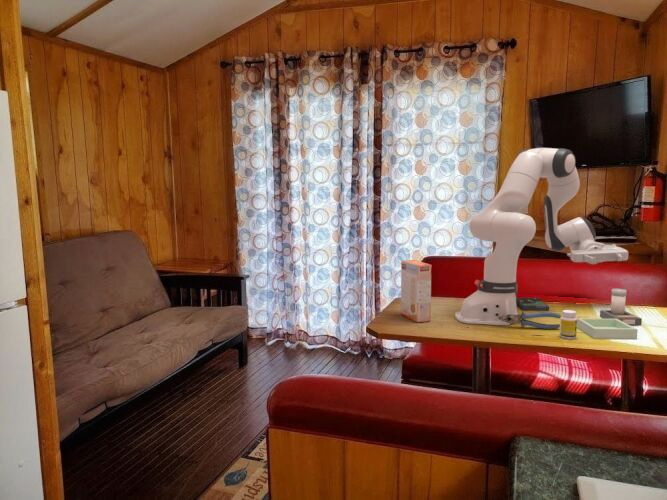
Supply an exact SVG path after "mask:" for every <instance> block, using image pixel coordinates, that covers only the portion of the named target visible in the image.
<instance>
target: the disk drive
mask: <svg viewBox="0 0 667 500" xmlns="http://www.w3.org/2000/svg"><path fill="white" fill-rule="evenodd" d="M516 305H517V308H519V309H520V310H521V312H522V311H524V312H526V311H527V312H550V306H549V304H548V303H546V302H545V301H543V300H542V299H540V298H538V297H518V296H516Z"/></svg>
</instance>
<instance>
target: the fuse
mask: <svg viewBox="0 0 667 500" xmlns="http://www.w3.org/2000/svg"><path fill="white" fill-rule="evenodd" d="M626 299H627V289H625V288H611V303H610V310H611V313H610V314H612V315H625V311H626Z"/></svg>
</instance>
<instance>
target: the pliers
mask: <svg viewBox="0 0 667 500" xmlns="http://www.w3.org/2000/svg"><path fill="white" fill-rule="evenodd" d="M561 317H562V316H561V314H560V313H556V312H553V311H552V312H550V311H537V312H531V313H527V312H526V311H522V310H521V314H518V315H515V314H507V315H503V316H499V317H498V319H499V320H502V321H504V322H507V323H511V324H517V325H518V324H520V326H521V328H524V327H526V326H528V327H532V328H536V329H541V330H542V329H544V330H553V329H558V328H559V329H560V323H559V324H557V323H556V324H548V323H547V324H546V323H541V322H537V321H531V319H537V318H554V319H561ZM503 318H506V319H503Z"/></svg>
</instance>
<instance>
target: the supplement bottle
mask: <svg viewBox="0 0 667 500" xmlns="http://www.w3.org/2000/svg"><path fill="white" fill-rule="evenodd" d="M561 315H562V316H561V318H560V323H559V324H560V327H559V336H560V338H563V339H567V340H568V339H569V340H575V339H576V338H577V329H578V328H577V311H575V310H570V309H564V310H561Z"/></svg>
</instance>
